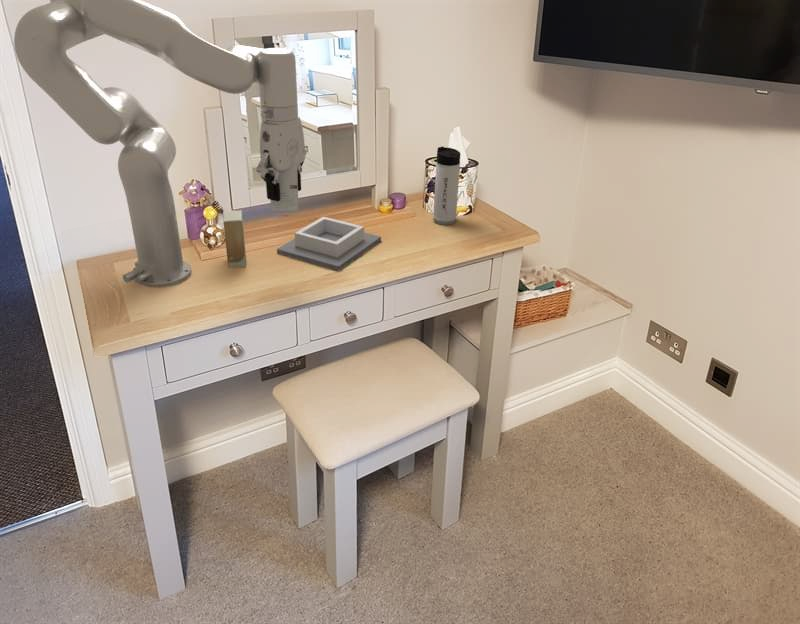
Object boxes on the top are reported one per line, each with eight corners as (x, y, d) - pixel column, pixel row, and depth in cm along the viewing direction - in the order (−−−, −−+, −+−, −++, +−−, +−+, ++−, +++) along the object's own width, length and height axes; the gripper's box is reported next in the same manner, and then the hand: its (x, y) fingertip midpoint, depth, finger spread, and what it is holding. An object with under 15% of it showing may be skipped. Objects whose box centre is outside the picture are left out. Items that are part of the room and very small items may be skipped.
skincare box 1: (228, 257, 168) (222, 210, 162) (246, 256, 169) (241, 209, 162) (228, 269, 162) (222, 220, 156) (246, 267, 163) (242, 219, 157)
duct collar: (338, 270, 163) (338, 252, 161) (277, 253, 170) (276, 235, 168) (380, 240, 178) (381, 224, 176) (323, 226, 186) (322, 209, 183)
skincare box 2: (270, 211, 151) (266, 157, 144) (271, 203, 154) (267, 150, 148) (299, 211, 151) (296, 157, 145) (299, 203, 155) (296, 150, 149)
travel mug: (443, 214, 195) (447, 144, 185) (460, 221, 191) (465, 150, 181) (427, 219, 191) (431, 148, 181) (444, 227, 187) (449, 155, 177)
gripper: (267, 124, 134) (273, 210, 143) (318, 106, 147) (321, 186, 156) (237, 118, 137) (245, 203, 146) (290, 101, 151) (294, 180, 160)
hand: (284, 193), depth 151 cm, fingers closed on skincare box 2, 6 cm apart
